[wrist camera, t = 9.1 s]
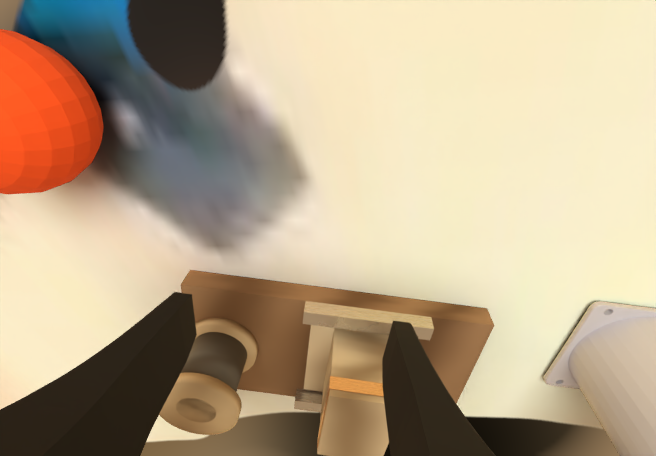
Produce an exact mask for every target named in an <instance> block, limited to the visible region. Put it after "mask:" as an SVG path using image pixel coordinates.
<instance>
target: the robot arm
mask: <svg viewBox="0 0 656 456" xmlns="http://www.w3.org/2000/svg"><path fill="white" fill-rule="evenodd" d="M607 309H608V310H607ZM196 335H197V333H196V324H195V316H194V308H193V299H192V294H185V293H178V292H175V293H173V294H172V295H171V296H169V297H168V298H167V299H166V300H165V301H163V302H162V303H161V304H160V305H159V306H157V307H156V308H155V309H154V310H153V311H151V312H150V313H149V314H148V315H146V316H145V317H144V318H143V319H142V320H140V321H139V322H138V323H137V324H135V325H134V326H133V327H131V328H130V329H129V330H128V331H126V332H125V333H124V334H123V335H121V336H120V337H119V338H117V339H116V340H115V341H113V342H112V343H110V344H109V345H108V346H106V347H105V348H104V349H102V350H101V351H99V352H98V353H97V354H95V355H94V356H92V357H91V358H89V359H88V360H86V361H85V362H83V363H82V364H80V365H79V366H77V367H76V368H74V369H73V370H71V371H69V372H68V373H66V374H65V375H63V376H61V377H60V378H58V379H56V380H54V381H53V382H51V383H49V384H47V385H46V386H44V387H42V388H40V389H38V390H37V391H35V392H33V393H31V394H29V395H28V396H26V397H24V398H22V399H20V400H18V401H16V402H15V403H13V404H11V405H9V406H7V407H5V408H3V409H1V410H0V456H140V455H141V452H142V450H143V448H144V445H145V443H146V440H147V438H148V436H149V433H150V431H151V429H152V427H153V425H154V423H155V421H156V419H157V417H158V415H159V413H160V412H161V410H162V408H163V406H164V404H165V402H166V400H167V398H168V396H169V394H170V393H171V391H172V389H173V387H174V385H175V383H176V381H177V379H178V377H179V375H180V373H181V371H182V370H183V368H184V366H185V364H186V362H187V359H188V357H189V354H190V351H191V349H192V346H193V343H194V341H195V338H196ZM543 378H544V381H545V382H546V383H547V384H549V385H555V386H562V387H570V388H578V389H581V391H582V393H583V394H584V396H585V398H586V399H587V401H588V403H589V404H590V406H591V408H592V410H593V411H594V413H595V415H596V416H597V418H598V420H599V421H600V423H601V425H602V427H603V428H604V430H605V432H606V433H607V435H608V437H609V438H610V440H611V442H612V443H613V445H614V447H615V449H616V450H617V452H618V454H619V455H620V456H656V308H648V307H640V306H633V305H625V304H617V303H609V302H602V301H599V302H594V303H592V304H591V305H590V306H589V308H588V309H587V311H586V312H585V314H584V316H583V317H582V319H581V320H580V322H579V323H578V325H577V326H576V328H575V329H574V331H573V332H572V334H571V335H570V337H569V338H568V340H567V342H566V343H565V345H564V346H563V348H562V349H561V351H560V352H559V354H558V355H557V357H556V358H555V360H554V361H553V363H552V364H551V366H550V368H549V369H548V371H547V372H546V374H545V375H544V377H543ZM382 382H383V396H384V404H385V413H386V421H387V429H388V438H389V446H390V455H391V456H495V454H494V453H493V452H492V451H491V450H490V449H489V448H488V446H487V445H486V444H485V442H484V441H483V440H482V439H481V437H480V436H479V435H478V434H477V432H476V431H475V430H474V428H473V427H472V425H471V424H470V423H469V422H468V420H467V419H466V417H465V416H464V414H463V413H462V412H461V410H460V409H459V407H458V406H457V404H456V403H455V401H454V400H453V398H452V397H451V395H450V394H449V392H448V390H447V389H446V387H445V386H444V384H443V382H442V381H441V379H440V377H439V376H438V374H437V372H436V370H435V369H434V367H433V365H432V363H431V362H430V360H429V358H428V356H427V354H426V352H425V350H424V348H423V346H422V344H421V342H420V340H419V338H418V336H417V334H416V332H415V330H414V328H413V326H412V324H411V323H408V322H401V321H393V322H392V326H391V330H390V333H389V337H388V340H387V344H386V348H385V351H384V355H383V358H382Z"/></svg>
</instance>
